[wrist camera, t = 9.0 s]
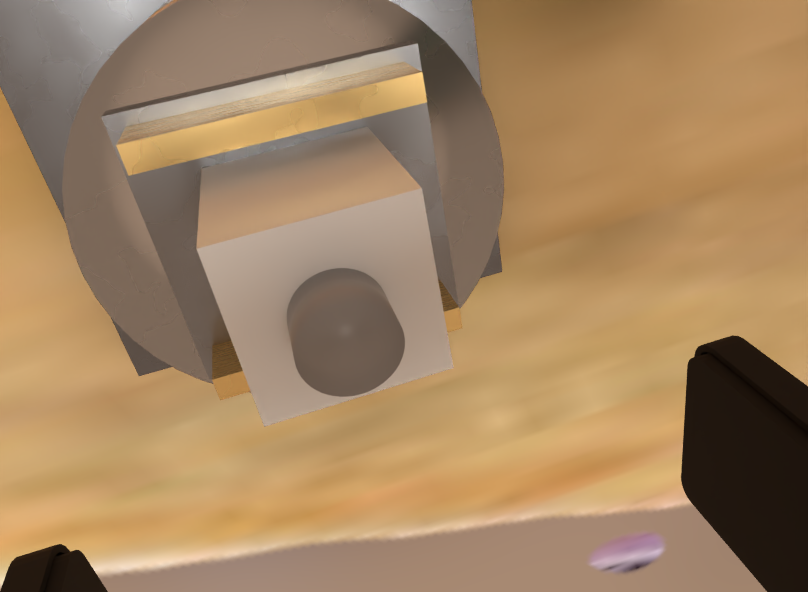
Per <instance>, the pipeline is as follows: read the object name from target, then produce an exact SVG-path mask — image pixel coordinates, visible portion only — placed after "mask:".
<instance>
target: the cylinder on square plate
mask: <svg viewBox="0 0 808 592" xmlns="http://www.w3.org/2000/svg"><path fill="white" fill-rule="evenodd" d="M0 87H1V89H2V91H3V93H4V96H5V98H6V100H7V102H8V104H9V106H10V108H11V110H12V112H13V114H14V116H15V118H16V121H17V123H18V125H19V127H20V129H21V131H22V133H23V135H24V137H25V139H26V141H27V144H28V146H29V148H30V150H31V152H32V154H33V156H34V158H35V160H36V162H37V164H38V166H39V169H40V171H41V173H42V175H43V177H44V179H45V181H46V183H47V185H48V187H49V189H50V191H51V194H52V196H53V198H54V200H55V202H56V204H57V206H58V208H59V210H60V212H61V214H62V217H63V219H64V221H65V223H66V226H67V230H68V234H69V239H70V243H71V247H72V249H73V252H74V254H75V257H76V259H77V262H78V264H79V267H80V269H81V272H82V274H83V276H84V278H85V279H86V281H87V283H88V285H89V286H90V288H91V290H92V292H93V293H94V295H95V297H96V298H97V300H98V301H99V302H100V304H101V305H102V306H103V308H104V309H105V310H106V311H107V313H108V314H109V315H110V317H111V319H112V321H113V323H114V325H115V327H116V329H117V331H118V333H119V335H120V338H121V340H122V342H123V344H124V346H125V348H126V350H127V352H128V354H129V356H130V358H131V360H132V363H133V365H134V367H135V369H136V371H137V373H138V375H139V376H142V375H145V374H149V373H152V372H156V371H159V370H163V369H166V368H169V367H174V368H175V369H177V370H179V371H182V372H184V373H186V374H189V375H191V376H193V377H195V378H198V379H200V380H203V381H206V382H209V383H212V384H214V386H215V388H216V391H217V393H218V396H219V398H220V400H223V399H226V398H229V397H233V396H236V395H239V394H243V393H246V392H251V390H250V388H249V385H248V383H247V380H246V377H245V375H244V372H243V369H242V367H241V364H240V362H239V359H238V356H237V354H236V351H235V349H234V346H233V343H232V341H231V338H230V335H229V333H228V330H227V328H226V325H225V322H224V320H223V317H222V315H221V312H220V309H219V307H218V304H217V301H216V299H215V296H214V294H213V291H212V288H211V286H210V283H209V280H208V278H207V275H206V273H205V270H204V267H203V265H202V262H201V260H200V257H199V254H198V252H197V249H196V248H197V232H198V216H199V201H200V185H201V169H202V168H205V167H209V166H213V165H217V164H221V163H225V162H229V161H233V160H237V159H241V158H245V157H249V156H253V155H257V154H261V153H265V152H268V151H272V150H276V149H280V148H284V147H288V146H292V145H296V144H300V143H304V142H308V141H312V140H316V139H320V138H324V137H328V136H332V135H336V134H340V133H344V132H348V131H352V130H355V129H359V128H363V127H368V128H369V129H370V130H371V132H372V133H373V134H374V135H375V136H376V137H377V138H378V139H379V141H380V142H381V143H382V144H383V145H384V146H385V147H386V148H387V150H388V151H389V152H390V153H391V154H392V155H393V156H394V157H395V159H396V160H397V161H398V162H399V163H400V164H401V165H402V166H403V168H404V169H405V170H406V171H407V172H408V173H409V174H410V175H411V177H412V178H413V179H414V180H415V181H416V182H417V183H418V184H419V185H420V187H421V188H422V192H423V197H424V203H425V209H426V214H427V220H428V226H429V231H430V237H431V243H432V248H433V254H434V260H435V265H436V271H437V277H438V283H439V288H440V294H441V300H442V305H443V311H444V317H445V322H446V328H447V332H451V331H454V330H458V329H461V328H462V322H461V316H460V308H461V307H462V305H463V304H464V303H465V301H466V300H467V298H468V297H469V295H470V294H471V292H472V291H473V289H474V287H475V286H476V284H477V283H478V281H479V279H480V278H482V277H485V276H489V275H492V274H496V273H499V272H502V265H501V257H500V248H499V239H498V228H499V223H500V219H501V214H502V205H503V193H504V176H503V160H502V154H501V148H500V142H499V137H498V133H497V130H496V127H495V124H494V120H493V117H492V114H491V111H490V109H489V107H488V105H487V102H486V100H485V98H484V96H483V94H482V88H481V80H480V71H479V62H478V53H477V44H476V35H475V26H474V18H473V9H472V0H0Z"/></svg>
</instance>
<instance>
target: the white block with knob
mask: <svg viewBox="0 0 808 592" xmlns="http://www.w3.org/2000/svg"><path fill="white" fill-rule="evenodd" d="M196 249H197V252H198V254H199V257H200V260H201V262H202V265H203V267H204V270H205V273H206V275H207V278H208V280H209V283H210V286H211V288H212V291H213V294H214V296H215V299H216V301H217V304H218V307H219V309H220V312H221V315H222V317H223V320H224V322H225V325H226V328H227V330H228V333H229V335H230V338H231V341H232V343H233V346H234V349H235V351H236V354H237V356H238V359H239V362H240V364H241V367H242V369H243V372H244V375H245V377H246V380H247V383H248V385H249V388H250V390H251V393H252V396H253V398H254V401H255V404H256V406H257V409H258V411H259V414H260V417H261V419H262V422H263V424H264V427H265V426H268V425H271V424H275V423H278V422H281V421H284V420H287V419H291V418H294V417H297V416H300V415H304V414H307V413H310V412H313V411H316V410H320V409H323V408H326V407H329V406H333V405H336V404H339V403H342V402H346V401H349V400H352V399H355V398H358V397H362V396H365V395H368V394H371V393H375V392H378V391H381V390H384V389H387V388H391V387H394V386H397V385H400V384H404V383H407V382H410V381H413V380H416V379H420V378H423V377H426V376H429V375H433V374H436V373H439V372H442V371H446V370H449V369H452V368H453V362H452V356H451V351H450V345H449V339H448V334H447V328H446V322H445V317H444V311H443V305H442V300H441V294H440V288H439V283H438V277H437V271H436V265H435V260H434V254H433V248H432V243H431V237H430V231H429V226H428V220H427V214H426V209H425V203H424V197H423V192H422V188H421V187H420V185H419V184H418V183H417V182H416V181H415V180H414V179H413V178H412V177H411V175H410V174H409V173H408V172H407V171H406V170H405V169H404V168H403V166H402V165H401V164H400V163H399V162H398V161H397V160H396V159H395V157H394V156H393V155H392V154H391V153H390V152H389V151H388V150H387V148H386V147H385V146H384V145H383V144H382V143H381V142H380V141H379V139H378V138H377V137H376V136H375V135H374V134H373V133H372V132H371V130H370V129H369V128H368V127H363V128H359V129H355V130H352V131H348V132H344V133H340V134H336V135H332V136H328V137H324V138H320V139H316V140H312V141H308V142H304V143H300V144H296V145H292V146H288V147H284V148H280V149H276V150H272V151H268V152H265V153H261V154H257V155H253V156H249V157H245V158H241V159H237V160H233V161H229V162H225V163H221V164H217V165H213V166H209V167H205V168H202V169H201V185H200V201H199V216H198V232H197V248H196Z"/></svg>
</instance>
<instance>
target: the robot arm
mask: <svg viewBox="0 0 808 592" xmlns="http://www.w3.org/2000/svg"><path fill="white" fill-rule="evenodd" d="M681 481H682V486H683V489H684V491H685V493H686V495H687V497H688V499H689V500H690V501H691V503H692V504H693V505H694V506H695V507H696V509H697V510H698V511H699V512H700V513H701V514H702V516H703V517H704V518H705V519H706V520H707V521H708V523H709V524H710V525H711V526H712V527H713V528H714V530H715V531H716V532H717V533H718V534H719V535H720V537H721V538H722V539H723V540H724V541H725V543H726V544H727V545H728V546H729V547H730V548H731V550H732V551H733V552H734V553H735V554H736V555H737V556H738V558H739V559H740V560H741V561H742V563H743V564H744V565H745V566H746V567H747V568H748V570H749V571H750V572H751V573H752V574H753V575H754V577H755V578H756V579H757V580H758V581H759V583H761V585H762V586H763V587H764V588H765V590H766V591H767V592H808V386H807V385H805V384H804V383H802V382H801V381H800V380H798V379H797V378H796V377H794V376H793V375H792V374H790V373H789V372H788V371H786V370H785V369H784V368H782V367H781V366H780V365H778V364H777V363H776V362H774V361H773V360H771V359H770V358H769V357H767V356H766V355H765V354H763V353H762V352H761V351H759V350H758V349H757V348H755V347H754V346H753V345H751V344H750V343H749V342H747V341H746V340H745V339H743V338H741V337H739V336H730V337H726V338H723V339H720V340H717V341H714V342H710V343H707V344H704V345H701V346H699V347H698V348H697V350H696V352H695V356H694V358H691V359H690V360H689V362H688V368H687V386H686V403H685V420H684V438H683V455H682V473H681ZM0 592H107V590H106V588H105V587H104V585H103V584H102V582H101V581H100V579H99V577H98V576H97V574H96V573H95V571H94V570H93V568H92V567H91V565H90V564H89V562H88V560H87V559H86V557H85V556H84V554H83V553H82V552H81V551H79V550H75V551H71V552H70V551H69V550H68V549H67V547H66V546H64V545H62V544H59V545H55V546H51V547H48V548H45V549H42V550H38V551H35V552H32V553H29V554H26V555H22V556H19V557H16V558H15V559H14V560H13V561H12V562H11V564H10V566H9V568H8V571H7V574H6V577H5V580H4V582H3V585H2V588H1V591H0Z"/></svg>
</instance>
